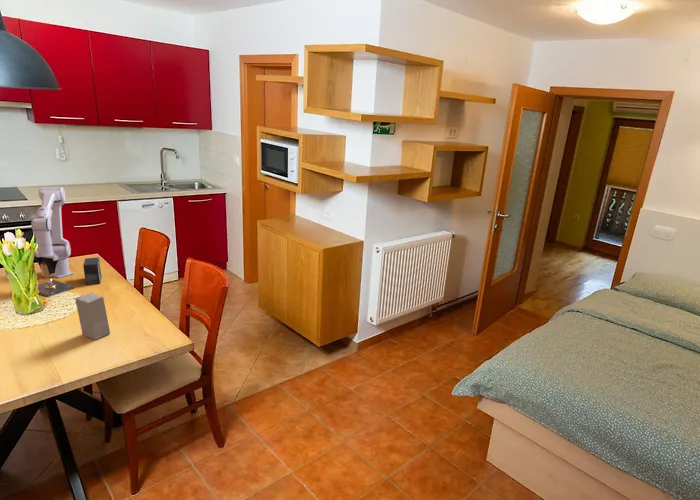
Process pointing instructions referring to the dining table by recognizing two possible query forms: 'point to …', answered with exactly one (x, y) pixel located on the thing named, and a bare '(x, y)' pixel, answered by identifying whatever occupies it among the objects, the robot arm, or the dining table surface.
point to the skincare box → (92, 315)
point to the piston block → (53, 287)
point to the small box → (92, 271)
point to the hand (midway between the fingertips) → (48, 272)
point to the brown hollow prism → (45, 270)
